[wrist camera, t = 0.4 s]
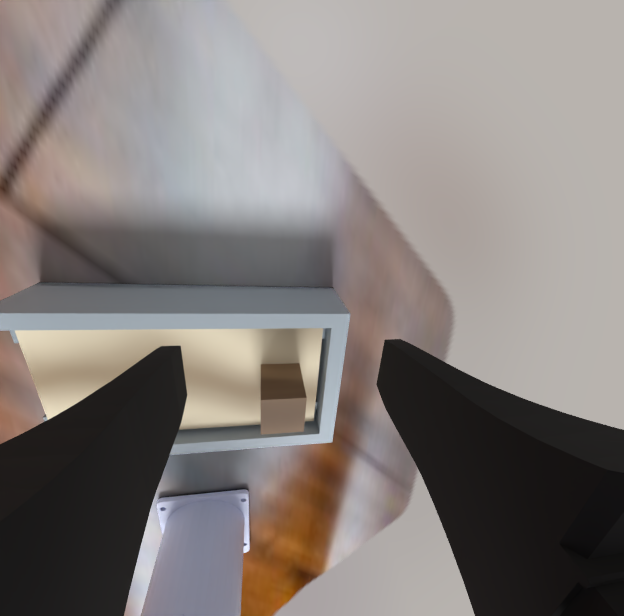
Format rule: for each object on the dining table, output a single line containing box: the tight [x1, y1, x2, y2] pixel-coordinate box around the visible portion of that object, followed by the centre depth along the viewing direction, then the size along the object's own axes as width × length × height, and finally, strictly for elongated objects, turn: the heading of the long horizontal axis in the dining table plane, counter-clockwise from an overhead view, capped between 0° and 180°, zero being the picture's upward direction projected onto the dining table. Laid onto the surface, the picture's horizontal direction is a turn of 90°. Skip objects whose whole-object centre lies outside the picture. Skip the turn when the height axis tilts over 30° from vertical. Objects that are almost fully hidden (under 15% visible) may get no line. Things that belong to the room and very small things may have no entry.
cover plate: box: [15, 328, 323, 435], centre depth 16 cm, size 7×16×4 cm, turn 86°
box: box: [0, 282, 350, 455], centre depth 19 cm, size 10×18×4 cm, turn 86°
